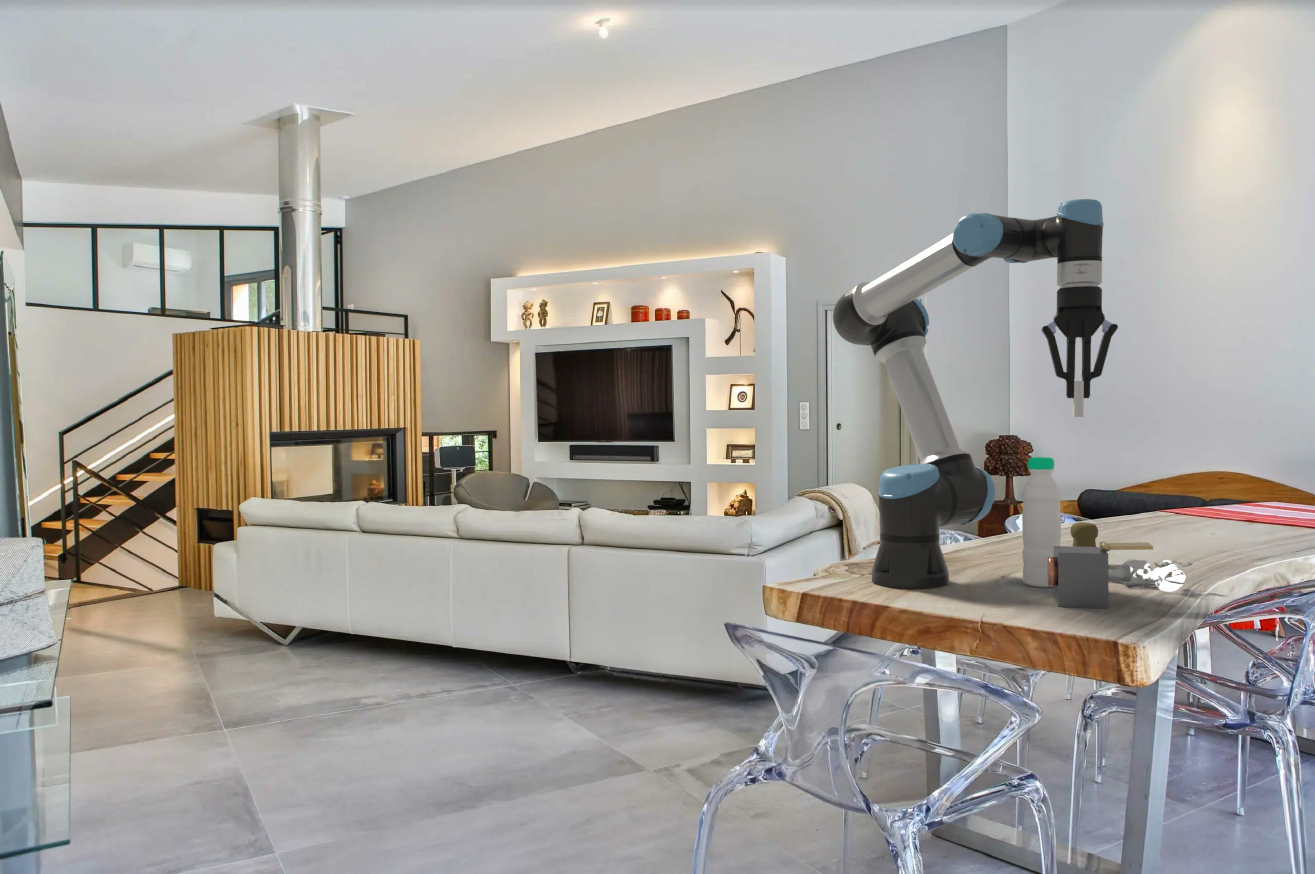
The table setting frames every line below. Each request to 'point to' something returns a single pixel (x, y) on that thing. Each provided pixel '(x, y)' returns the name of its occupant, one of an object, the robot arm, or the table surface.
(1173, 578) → the figurine
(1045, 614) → the table surface
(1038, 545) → the water bottle
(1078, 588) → the block
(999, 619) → the table surface
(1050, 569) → the pin
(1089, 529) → the cork
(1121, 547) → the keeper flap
